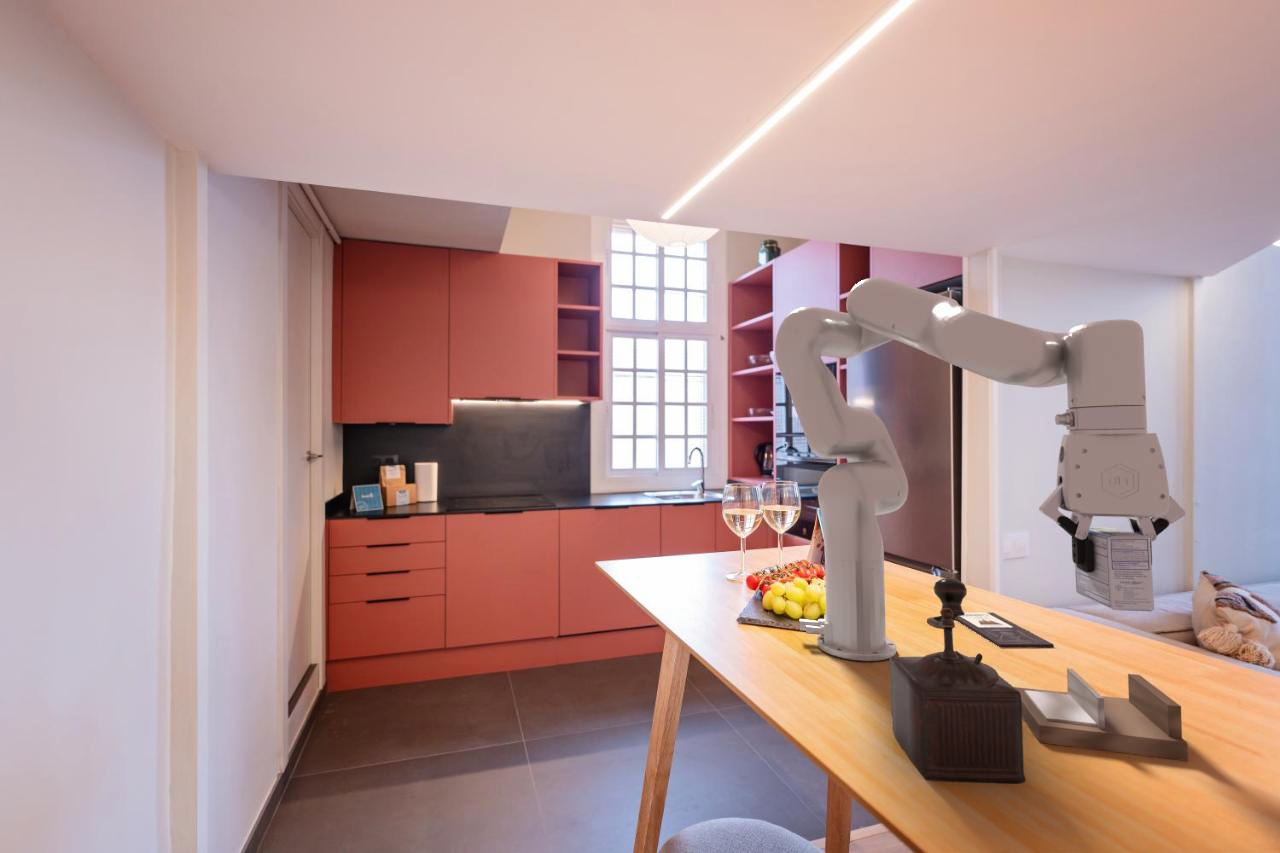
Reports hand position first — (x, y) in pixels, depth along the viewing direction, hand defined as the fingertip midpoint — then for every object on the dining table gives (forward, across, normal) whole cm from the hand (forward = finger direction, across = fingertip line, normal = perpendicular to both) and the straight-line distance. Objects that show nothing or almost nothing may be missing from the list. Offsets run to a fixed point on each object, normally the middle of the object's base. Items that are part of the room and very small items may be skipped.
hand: (1111, 569), depth 71 cm
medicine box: (+4, 0, 0) cm, 4 cm away
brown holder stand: (+19, -3, 0) cm, 20 cm away
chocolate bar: (+20, -4, +38) cm, 43 cm away
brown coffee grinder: (+20, -20, -9) cm, 30 cm away
